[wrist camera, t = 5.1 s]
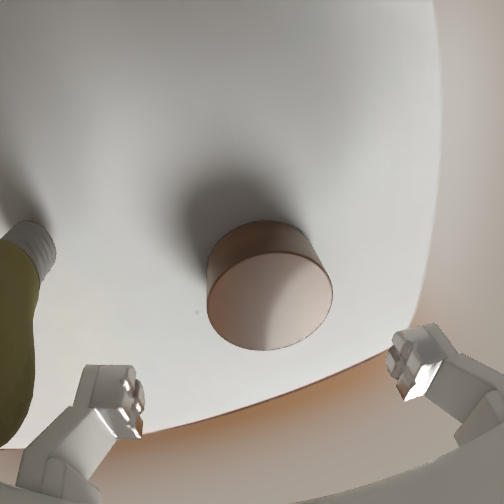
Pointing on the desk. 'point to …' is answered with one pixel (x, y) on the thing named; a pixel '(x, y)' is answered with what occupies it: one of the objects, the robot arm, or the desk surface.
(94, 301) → the desk surface
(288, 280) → the brown cylindrical puck
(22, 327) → the light bulb
